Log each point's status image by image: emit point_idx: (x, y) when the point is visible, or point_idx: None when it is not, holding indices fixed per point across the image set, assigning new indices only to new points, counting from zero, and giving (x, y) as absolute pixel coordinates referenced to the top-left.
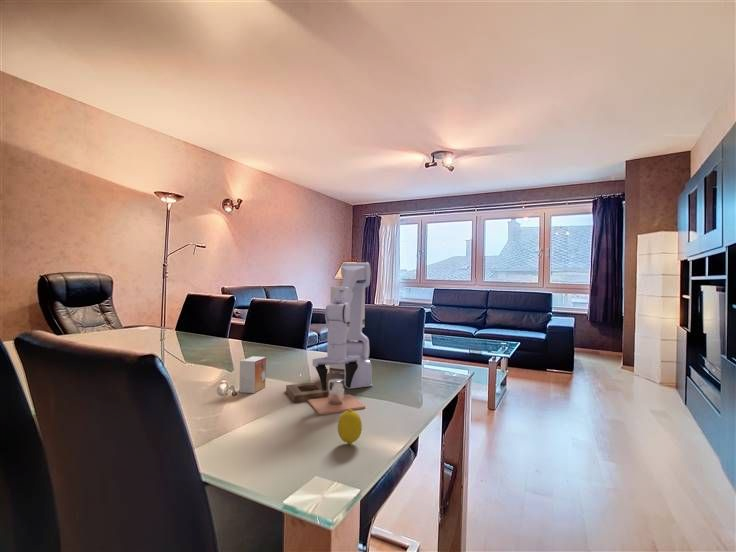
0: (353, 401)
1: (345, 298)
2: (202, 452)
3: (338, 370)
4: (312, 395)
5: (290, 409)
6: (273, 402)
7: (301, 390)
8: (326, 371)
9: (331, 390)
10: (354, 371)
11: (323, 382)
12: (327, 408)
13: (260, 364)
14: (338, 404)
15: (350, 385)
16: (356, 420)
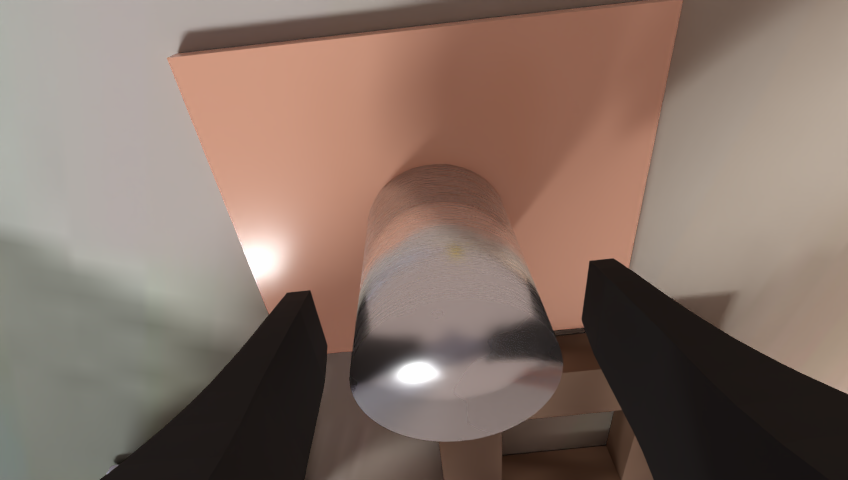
0: (279, 215)
1: None
2: None
3: None
4: (580, 359)
5: (801, 205)
6: (811, 344)
7: (580, 457)
8: (828, 461)
9: (522, 263)
10: (125, 473)
11: (693, 315)
12: (560, 102)
13: None
14: (434, 165)
15: (277, 305)
16: None
